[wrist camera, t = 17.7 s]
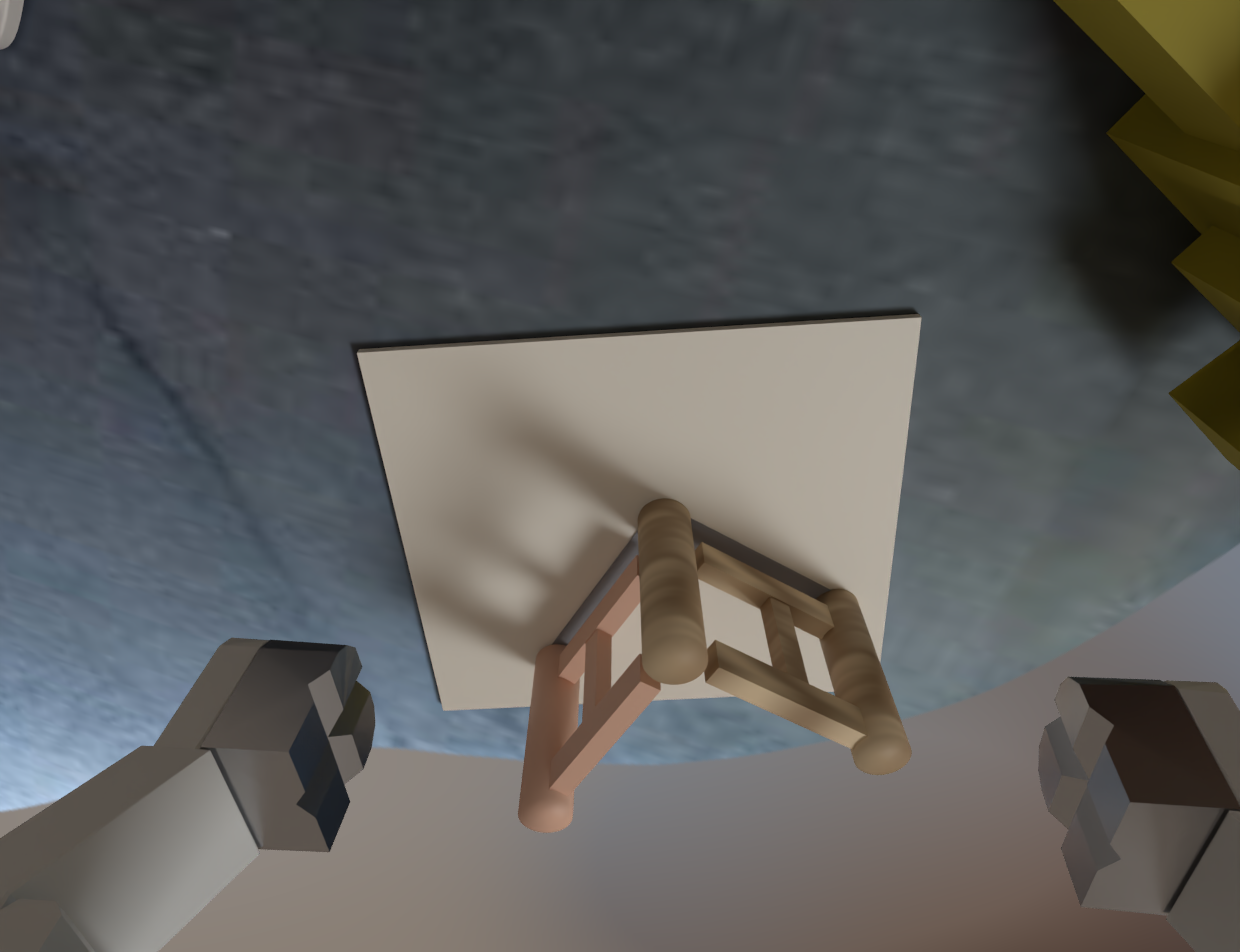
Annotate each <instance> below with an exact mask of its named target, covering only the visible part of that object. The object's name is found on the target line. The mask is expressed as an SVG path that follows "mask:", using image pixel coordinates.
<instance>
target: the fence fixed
mask: <svg viewBox="0 0 1240 952" xmlns="http://www.w3.org/2000/svg"><path fill="white" fill-rule="evenodd" d="M637 521H638V551H639V581H640V611H641V642H642V665H643V668H644V670H645V672H646V673H647V674H648V675H649V676H650V677H651V678H652V679H654V680H656V681H657V682H660V683H663V684H669V685H679V684H685V683H688V682H691V681H693V680H695V679H696V678H698V677H699V676H700V675H701V674H702V673H703V672H704V675H705V683H707V684H709V685H712V686H714V687H716V688H718V689H720V690H723V691H725V692H727V693H729V694H731V695H734V696H736V697H738V698H740V699H742V700H745V701H747V702H749V703H751V704H754V705H756V706H758V707H760V708H762V709H765V710H767V711H769V712H771V713H773V714H776V715H778V716H780V717H782V718H784V719H787V720H789V721H791V722H793V723H795V724H798V725H800V726H802V727H804V728H806V729H809V730H811V731H813V732H815V733H817V734H820V735H822V736H824V737H826V738H828V739H831V740H833V741H835V742H837V743H839V744H842V745H844V746H846V747H848V748H850V749H851V752H852V755H853V759H854V763H855V765H856V766H857V768H859V769H860V770H861V771H863V772H865V773H868V774H872V775H884V774H889V773H892V772H895V771H897V770H899V769H901V768H902V767H903V766H905V765H906V763H908V761H909V760H910V757H911V754H912V753H911V747H910V745H909V742H908V739H907V736H906V733H905V731H904V728H903V725H902V722H901V719H900V717H899V714H898V711H897V708H896V706H895V703H894V700H893V697H892V695H891V692H890V689H889V686H888V684H887V681H886V678H885V675H884V672H883V670H882V667H881V664H880V661H879V659H878V656H877V653H876V650H875V648H874V645H873V642H872V639H871V637H870V634H869V631H868V628H867V625H866V623H865V620H864V617H863V614H862V612H861V609H860V606H859V603H858V601H857V598H856V597H855V595H854V594H852V593H851V592H849V591H847V590H844V589H831V591H828V592H825V593H823V594H821V595H820V596H819V597H817V598H816V599H814V598H812V597H810V596H808V595H806V594H804V593H802V592H800V591H798V590H796V589H794V588H792V587H790V586H788V585H786V584H784V583H782V582H780V581H778V580H776V579H774V578H772V577H770V576H768V575H766V574H764V573H762V572H760V571H759V570H757V569H755V568H753V567H751V566H749V565H747V564H745V563H743V562H741V561H739V560H737V559H735V558H733V557H731V556H729V555H727V554H725V553H723V552H721V551H719V550H717V549H715V548H713V547H711V546H709V545H707V544H705V543H703V542H701V543H700V545H699V546H698V547H697V548H696V550H695V549H694V541H693V533H692V525H691V517H690V513H689V511H688V509H687V508H686V507H685V506H684V505H683V504H682V503H680V502H678V501H676V500H673V499H667V498H662V499H656V500H653V501H651V502H649V503H648V504H646V505H645V506H644V507H643V508H642V509H641V511H640V513H639V515H638V520H637ZM698 579H699V580H701V581H703V582H705V583H707V584H709V585H711V586H713V587H715V588H717V589H720V590H722V591H724V592H726V593H728V594H730V595H732V596H734V597H736V598H738V599H740V600H742V601H744V602H746V603H748V604H750V605H752V606H754V607H756V608H758V609H760V611H761V616H762V620H763V625H764V630H765V634H766V639H767V644H768V649H769V653H770V658H771V663H772V666H770V665H768V664H766V663H764V662H762V661H760V660H757V659H755V658H753V657H751V656H749V655H747V654H745V653H743V652H741V651H738V650H736V649H734V648H732V647H730V646H728V645H726V644H724V643H721V642H719V641H717V640H714V642H713V643H712V644H711V645H710V646H709V647H708V648H707V645H706V637H705V629H704V621H703V613H702V605H701V597H700V589H699V581H698ZM794 626H795V627H797V628H799V629H801V630H803V631H805V632H807V633H809V634H811V635H813V636H815V637H817V638H819V641H820V644H821V648H822V651H823V655H824V658H825V662H826V665H827V668H828V672H829V675H830V679H831V682H832V686H833V689H834V693H835V696H834V695H832V694H830V693H827V692H825V691H823V690H821V689H819V688H817V687H815V686H813V685H810V684H809V682H808V678H807V675H806V671H805V667H804V663H803V659H802V655H801V651H800V647H799V643H798V639H797V635H796V632H795V628H794Z"/></svg>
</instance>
